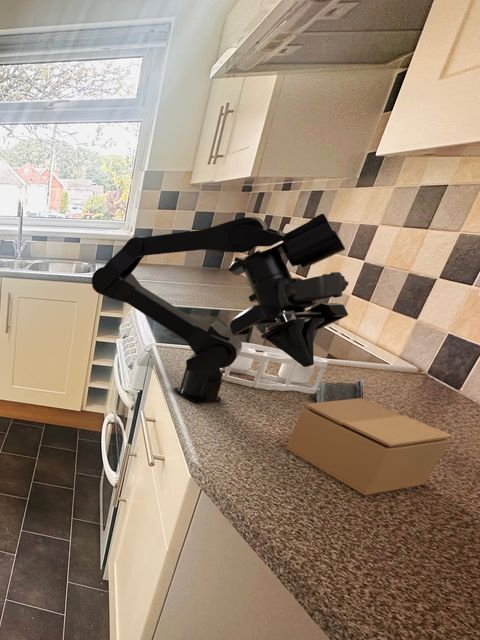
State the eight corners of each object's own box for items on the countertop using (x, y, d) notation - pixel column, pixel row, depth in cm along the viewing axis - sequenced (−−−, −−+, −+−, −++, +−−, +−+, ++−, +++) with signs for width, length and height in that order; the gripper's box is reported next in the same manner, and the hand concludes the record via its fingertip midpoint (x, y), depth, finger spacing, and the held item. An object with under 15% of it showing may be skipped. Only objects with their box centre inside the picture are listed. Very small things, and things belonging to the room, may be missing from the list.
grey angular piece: (316, 390, 92) (315, 361, 84) (360, 390, 88) (364, 361, 80) (315, 429, 89) (314, 404, 81) (360, 432, 84) (364, 405, 76)
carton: (285, 448, 68) (304, 403, 65) (339, 441, 71) (360, 397, 68) (364, 495, 58) (391, 444, 54) (424, 484, 61) (454, 435, 57)
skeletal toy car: (314, 385, 93) (327, 355, 90) (316, 402, 85) (330, 369, 82) (215, 363, 104) (223, 335, 101) (207, 376, 96) (217, 346, 93)
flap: (303, 406, 65) (304, 403, 65) (359, 400, 68) (361, 398, 68) (342, 425, 60) (343, 423, 60) (401, 418, 63) (402, 415, 63)
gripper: (270, 252, 62) (314, 347, 57) (360, 253, 67) (408, 341, 62) (213, 293, 72) (247, 376, 67) (295, 291, 77) (332, 369, 72)
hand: (308, 365), depth 67 cm, fingers closed
